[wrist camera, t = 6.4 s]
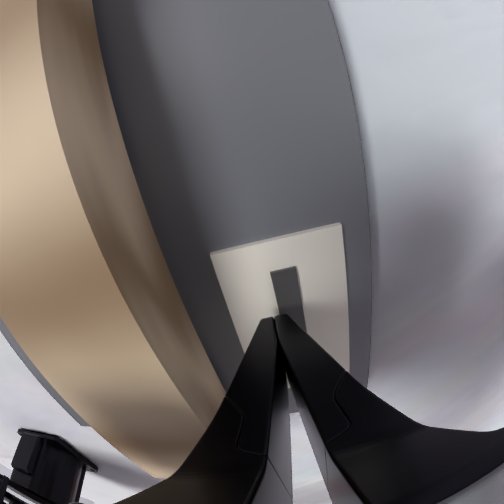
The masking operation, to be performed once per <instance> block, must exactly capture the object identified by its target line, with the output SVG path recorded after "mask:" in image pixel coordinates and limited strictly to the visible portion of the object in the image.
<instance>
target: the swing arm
mask: <svg viewBox="0 0 504 504" xmlns="http://www.w3.org/2000/svg"><path fill="white" fill-rule="evenodd" d="M0 317H1V318H2V320H3V322H4V323H5V325H6V326H7V328H8V329H9V331H10V332H11V334H12V335H13V337H14V338H15V339H16V341H17V342H18V344H19V345H20V347H21V348H22V349H23V351H24V352H25V353H26V355H27V356H28V357H29V359H30V360H31V361H32V363H33V364H34V365H35V366H36V368H37V369H38V370H39V371H40V373H41V374H42V375H43V376H44V377H45V379H46V380H47V381H48V382H49V383H50V384H51V386H52V387H53V388H54V389H55V390H56V391H57V392H58V393H59V395H60V396H61V397H62V398H63V399H64V400H65V401H66V402H67V403H68V404H69V405H70V406H71V407H72V408H73V409H74V410H75V411H76V412H77V413H78V414H79V415H80V416H81V417H82V418H83V419H84V420H85V421H86V422H87V423H88V424H89V425H90V426H91V427H92V428H93V429H94V430H95V431H96V432H97V433H99V434H100V435H101V436H102V437H103V438H104V439H105V440H106V441H108V442H109V443H110V444H111V445H112V446H113V447H115V448H116V449H117V450H118V451H120V452H121V453H122V454H123V455H124V456H126V457H127V458H128V459H130V460H131V461H132V462H133V463H135V464H136V465H137V466H139V467H140V468H141V469H143V470H144V471H146V472H147V473H148V474H150V475H151V476H153V477H154V478H166V479H167V478H169V477H170V476H171V475H172V474H173V473H175V472H176V471H177V470H178V468H179V467H180V466H181V465H182V464H183V462H184V461H185V459H186V458H187V457H188V455H189V454H190V452H191V451H192V450H193V448H194V447H195V445H196V444H197V442H198V441H199V440H200V438H201V437H202V435H203V434H204V432H205V431H206V429H207V428H208V426H209V424H210V423H211V421H212V420H213V418H214V416H215V414H216V412H217V410H218V409H219V407H220V405H221V403H222V400H223V398H224V397H225V395H226V391H225V390H224V388H223V386H222V384H221V382H220V380H219V378H218V376H217V374H216V372H215V370H214V368H213V366H212V364H211V362H210V360H209V358H208V356H207V354H206V352H205V350H204V348H203V346H202V343H201V341H200V339H199V337H198V335H197V333H196V331H195V329H194V326H193V324H192V322H191V320H190V318H189V315H188V313H187V311H186V309H185V306H184V304H183V302H182V300H181V297H180V295H179V293H178V290H177V288H176V286H175V283H174V281H173V278H172V276H171V274H170V271H169V269H168V266H167V264H166V261H165V259H164V256H163V254H162V251H161V249H160V246H159V243H158V241H157V238H156V236H155V233H154V230H153V228H152V225H151V222H150V219H149V217H148V214H147V211H146V208H145V206H144V203H143V200H142V197H141V194H140V191H139V188H138V185H137V182H136V179H135V176H134V173H133V170H132V167H131V164H130V161H129V157H128V154H127V151H126V148H125V144H124V141H123V138H122V134H121V131H120V127H119V124H118V120H117V116H116V113H115V109H114V105H113V101H112V97H111V93H110V89H109V85H108V81H107V77H106V73H105V68H104V64H103V59H102V54H101V50H100V45H99V40H98V34H97V29H96V23H95V17H94V11H93V5H92V0H0Z"/></svg>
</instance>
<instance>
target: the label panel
mask: <svg viewBox="0 0 504 504" xmlns="http://www.w3.org/2000/svg"><path fill="white" fill-rule="evenodd" d="M92 5H93V11H94V17H95V23H96V29H97V34H98V40H99V45H100V50H101V54H102V59H103V64H104V68H105V73H106V77H107V81H108V85H109V89H110V93H111V97H112V101H113V105H114V109H115V113H116V116H117V120H118V124H119V127H120V131H121V134H122V138H123V141H124V144H125V148H126V151H127V154H128V157H129V161H130V164H131V167H132V170H133V173H134V176H135V179H136V182H137V185H138V188H139V191H140V194H141V197H142V200H143V203H144V206H145V208H146V211H147V214H148V217H149V219H150V222H151V225H152V228H153V230H154V233H155V236H156V238H157V241H158V243H159V246H160V249H161V251H162V254H163V256H164V259H165V261H166V264H167V266H168V269H169V271H170V274H171V276H172V278H173V281H174V283H175V286H176V288H177V290H178V293H179V295H180V297H181V300H182V302H183V304H184V306H185V309H186V311H187V313H188V315H189V318H190V320H191V322H192V324H193V326H194V329H195V331H196V333H197V335H198V337H199V339H200V341H201V343H202V346H203V348H204V350H205V352H206V354H207V356H208V358H209V360H210V362H211V364H212V366H213V368H214V370H215V372H216V374H217V376H218V378H219V380H220V382H221V384H222V386H223V388H224V390H225V391H226V392H227V390H228V388H229V386H230V384H231V382H232V380H233V378H234V376H235V374H236V371H237V369H238V367H239V365H240V363H241V361H242V359H243V357H244V354H245V352H246V350H247V348H248V346H249V344H250V341H251V339H252V337H253V335H254V333H255V331H256V328H257V326H258V324H259V322H260V320H261V319H263V318H267V317H275V316H276V315H280V314H285V313H286V314H288V315H289V316H290V317H291V318H292V319H293V320H294V321H295V322H296V323H297V324H298V325H299V326H300V327H301V328H302V329H303V330H305V331H306V332H307V333H308V334H309V335H310V336H311V337H312V338H313V339H314V340H315V341H316V342H317V343H318V344H319V345H320V346H321V347H322V348H323V349H324V350H325V351H326V352H327V353H328V354H329V355H331V356H332V357H333V358H334V359H335V360H336V361H337V362H338V363H339V364H340V365H341V366H342V367H343V368H344V369H345V370H346V371H348V372H349V373H350V374H351V375H352V376H353V377H354V378H355V379H356V380H357V381H358V382H360V383H361V384H362V385H363V386H364V387H365V388H367V384H368V373H369V359H370V343H371V315H372V269H371V241H370V224H369V210H368V199H367V188H366V179H365V170H364V162H363V155H362V148H361V141H360V134H359V128H358V122H357V117H356V111H355V106H354V100H353V95H352V91H351V86H350V81H349V77H348V72H347V68H346V64H345V60H344V56H343V52H342V48H341V44H340V40H339V37H338V33H337V30H336V26H335V23H334V20H333V16H332V13H331V10H330V7H329V4H328V1H327V0H92ZM0 331H1V332H2V334H3V335H4V337H5V338H6V340H7V341H8V342H9V344H10V345H11V347H12V348H13V349H14V351H15V352H16V353H17V355H18V356H19V357H20V359H21V360H22V361H23V363H24V364H25V365H26V366H27V368H28V369H29V370H30V371H31V373H32V374H33V375H34V376H35V377H36V379H37V380H38V381H39V382H40V383H41V385H42V386H43V387H44V388H45V389H46V390H47V391H48V392H49V394H50V395H51V396H52V397H53V398H54V399H55V400H56V401H57V402H58V403H59V404H60V405H61V406H62V407H63V408H64V409H65V410H66V411H67V412H68V413H69V414H70V415H71V416H72V417H73V418H74V419H75V420H76V421H77V422H78V423H79V424H80V425H81V426H90V425H89V424H88V423H87V422H86V421H85V420H84V419H83V418H82V417H81V416H80V415H79V414H78V413H77V412H76V411H75V410H74V409H73V408H72V407H71V406H70V405H69V404H68V403H67V402H66V401H65V400H64V399H63V398H62V397H61V396H60V395H59V393H58V392H57V391H56V390H55V389H54V388H53V387H52V386H51V384H50V383H49V382H48V381H47V380H46V379H45V377H44V376H43V375H42V374H41V373H40V371H39V370H38V369H37V368H36V366H35V365H34V364H33V363H32V361H31V360H30V359H29V357H28V356H27V355H26V353H25V352H24V351H23V349H22V348H21V347H20V345H19V344H18V342H17V341H16V339H15V338H14V337H13V335H12V334H11V332H10V331H9V329H8V328H7V326H6V325H5V323H4V322H3V320H2V318H1V317H0ZM286 375H287V374H286ZM287 382H288V378H287ZM288 396H289V413H294V412H299V410H298V407H297V405H296V402H295V399H294V396H293V393H292V391H291V388H290V385H289V382H288ZM90 427H91V426H90Z"/></svg>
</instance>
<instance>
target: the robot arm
mask: <svg viewBox="0 0 504 504" xmlns="http://www.w3.org/2000/svg"><path fill="white" fill-rule="evenodd" d="M286 374H287V375H286ZM287 378H288V382H289V385H290V388H291V391H292V393H293V396H294V399H295V402H296V405H297V407H298V410H299V413H300V416H301V419H302V421H303V424H304V427H305V430H306V432H307V435H308V438H309V441H310V444H311V446H312V449H313V452H314V455H315V457H316V460H317V463H318V466H319V468H320V471H321V474H322V476H323V479H324V482H325V485H326V487H327V490H328V492H329V496H330V498H331V501H332V504H504V428H501V429H498V430H495V431H489V432H478V431H464V430H454V429H444V428H436V427H429V426H426V425H422V424H420V423H418V422H416V421H414V420H412V419H410V418H409V417H407V416H406V415H404V414H403V413H401V412H400V411H398V410H397V409H395V408H394V407H392V406H391V405H389V404H388V403H386V402H385V401H383V400H382V399H380V398H379V397H377V396H376V395H375V394H373V393H372V392H371V391H369V390H368V389H367V388H365V387H364V386H363V385H362V384H361V383H360V382H358V381H357V380H356V379H355V378H354V377H353V376H352V375H351V374H350V373H349V372H348V371H346V370H345V369H344V368H343V367H342V366H341V365H340V364H339V363H338V362H337V361H336V360H335V359H334V358H333V357H332V356H331V355H329V354H328V353H327V352H326V351H325V350H324V349H323V348H322V347H321V346H320V345H319V344H318V343H317V342H316V341H315V340H314V339H313V338H312V337H311V336H310V335H309V334H308V333H307V332H306V331H305V330H303V329H302V328H301V327H300V326H299V325H298V324H297V323H296V322H295V321H294V320H293V319H292V318H291V317H290V316H289V315H288V314H286V313H285V314H280V315H276V316H275V317H267V318H263V319H261V320H260V322H259V324H258V326H257V328H256V331H255V333H254V335H253V337H252V339H251V341H250V344H249V346H248V348H247V350H246V352H245V354H244V357H243V359H242V361H241V363H240V365H239V367H238V369H237V371H236V374H235V376H234V378H233V380H232V382H231V384H230V386H229V388H228V390H227V392H226V395H225V397H224V398H223V400H222V403H221V405H220V407H219V409H218V410H217V412H216V414H215V416H214V418H213V420H212V421H211V423H210V424H209V426H208V428H207V429H206V431H205V432H204V434H203V435H202V437H201V438H200V440H199V441H198V442H197V444H196V445H195V447H194V448H193V450H192V451H191V452H190V454H189V455H188V457H187V458H186V459H185V461H184V462H183V464H182V465H181V466H180V467H179V468H178V470H177V471H176V472H175V473H173V474H172V475H171V476H170V477H169V478H167V479H165V480H164V481H162V482H160V483H158V484H156V485H154V486H152V487H150V488H148V489H146V490H144V491H142V492H139V493H137V494H135V495H133V496H131V497H129V498H126V499H124V500H122V501H119V502H117V503H114V504H293V500H292V499H293V494H292V462H291V437H290V415H289V396H288V382H287ZM18 434H19V435H21V436H22V437H21V439H20V442H19V444H18V447H17V449H16V452H15V455H14V458H13V460H12V463H11V465H12V467H13V468H14V469H13V472H12V475H11V478H10V480H9V478H8V477H6V476H5V475H4V476H3V475H1V474H0V504H6V503H4V502H3V500H6V501H8V502H9V504H28V503H26V502H24V501H22V500H20V499H19V498H17V497H15V496H14V495H12V494H10V493H9V492H7V491H6V489H7V488H9V489H11V490H12V491H14V492H16V493H17V494H19V495H21V496H23V497H25V498H26V499H28V500H30V501H32V502H34V503H36V504H83V503H79V498H80V494H81V489H82V485H83V480H84V476H85V472H86V471H91V472H98V468H97V467H96V466H94V465H93V464H91V463H90V462H89V461H87V460H86V459H85V458H83V457H82V456H81V455H79V454H78V453H77V452H76V451H74V450H73V449H72V448H71V447H69V446H68V445H67V444H66V443H65V442H63V441H62V440H61V439H59V438H58V437H55V436H50V435H45V434H40V433H35V432H31V431H27V430H22V429H18Z"/></svg>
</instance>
